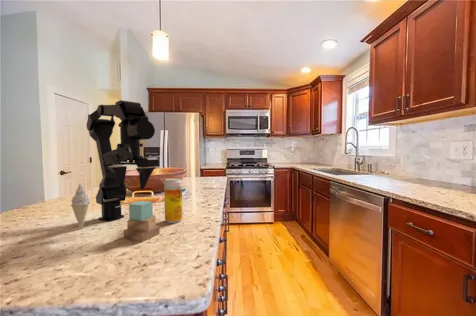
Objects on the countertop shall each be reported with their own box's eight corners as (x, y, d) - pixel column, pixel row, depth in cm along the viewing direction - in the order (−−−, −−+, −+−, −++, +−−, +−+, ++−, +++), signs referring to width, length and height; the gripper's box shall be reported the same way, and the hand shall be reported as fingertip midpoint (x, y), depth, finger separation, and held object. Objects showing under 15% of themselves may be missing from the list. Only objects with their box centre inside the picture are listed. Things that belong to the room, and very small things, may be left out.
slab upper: (127, 231, 68) (127, 221, 68) (136, 224, 74) (135, 215, 74) (148, 231, 68) (148, 220, 68) (155, 224, 74) (155, 214, 74)
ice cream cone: (94, 227, 79) (92, 182, 79) (79, 232, 75) (77, 184, 74) (82, 225, 81) (81, 181, 80) (68, 230, 76) (66, 183, 76)
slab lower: (123, 240, 69) (123, 230, 69) (141, 232, 75) (141, 223, 75) (142, 244, 66) (142, 233, 66) (159, 235, 73) (159, 225, 73)
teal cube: (129, 219, 69) (129, 204, 69) (140, 215, 73) (140, 200, 73) (141, 220, 68) (141, 205, 67) (152, 216, 72) (152, 201, 72)
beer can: (177, 224, 82) (177, 180, 81) (161, 223, 83) (160, 180, 82) (185, 218, 88) (184, 178, 87) (170, 218, 89) (169, 178, 88)
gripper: (86, 140, 73) (88, 190, 74) (131, 139, 66) (133, 195, 67) (117, 141, 84) (118, 185, 84) (159, 140, 76) (160, 188, 77)
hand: (131, 188), depth 78 cm, fingers open, 9 cm apart
